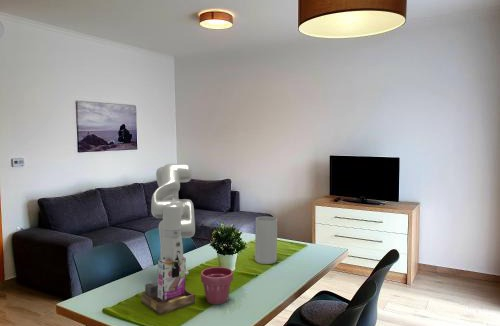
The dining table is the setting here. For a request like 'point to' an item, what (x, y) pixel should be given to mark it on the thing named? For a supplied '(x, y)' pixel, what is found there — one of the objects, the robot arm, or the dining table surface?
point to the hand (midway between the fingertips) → (171, 274)
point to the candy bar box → (170, 280)
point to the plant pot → (216, 283)
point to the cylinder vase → (266, 240)
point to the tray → (168, 305)
